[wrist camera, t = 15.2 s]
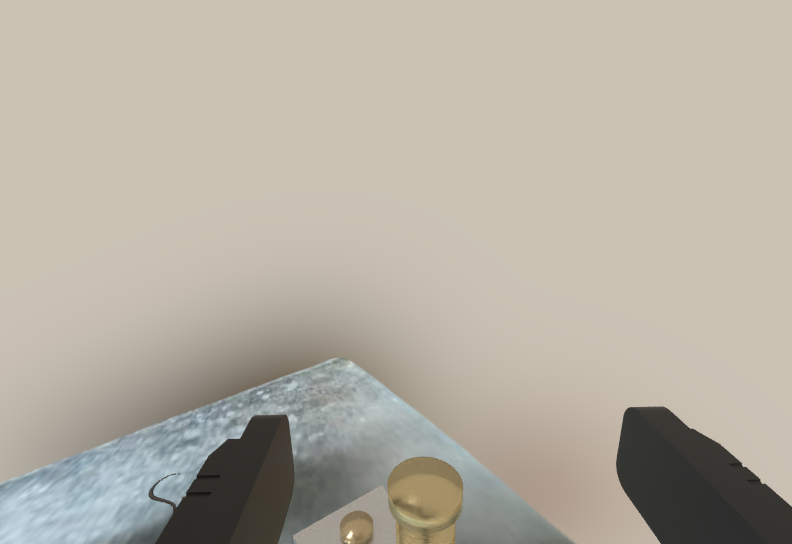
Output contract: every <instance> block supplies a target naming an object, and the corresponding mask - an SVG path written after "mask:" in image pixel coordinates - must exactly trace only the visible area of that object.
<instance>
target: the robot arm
mask: <svg viewBox="0 0 792 544" xmlns="http://www.w3.org/2000/svg"><path fill="white" fill-rule="evenodd" d="M616 467H617V474H618V477H619V481H620V483H621V486H622V488H623V489H624V491H625V493H626V494H627V496H628V497H629V498H630V500H631V501H632V503H633V504H634V506H635V507H636V508H637V510H638V511H639V513H640V514H641V516H642V517H643V518H644V520H645V521H646V523H647V524H648V526H649V527H650V528H651V530H652V531H653V533H654V534H655V536H656V537H657V539H658V540H659V541H660V543H661V544H792V507H791V506H790V505H789V504H788V503H787V502H786V501H784V500H783V499H782V498H781V497H780V496H779V495H778V494H776V493H775V492H774V491H773V490H772V489H771V488H769V487H768V486H767V485H766V484H762V483H761V482H760V479H759V478H758V477H757V476H756V475H755V474H754V473H752V472H751V471H750V470H749V469H747V467H743V466H742V463H741V462H740V461H739V460H737V459H736V458H735V457H734V456H733V455H731V453H729V452H728V451H727V450H726V449H725V448H724V447H722V446H721V445H720V444H719V443H717V442H715V441H713V440H712V439H710V438H708V437H706V436H704V435H703V434H701V433H699V432H697V431H696V430H694V429H690V428H689V427H687V426H686V425H685V424H684V423H683V422H682V421H681V420H680V419H679V418H678V417H677V416H675V415H674V414H673V413H672V412H671V411H670V410H668V409H667V408H665V407H630V408H628V409H627V410H626V411H625V413H624V417H623V423H622V429H621V436H620V442H619V448H618V454H617V461H616ZM293 485H294V464H293V455H292V446H291V437H290V428H289V420H288V417H287V415H256V416H253V417H252V418H251V420H250V421H249V423H248V425H247V427H246V429H245V431H244V433H243V434H242V436H241V438H240V439H228V440H226V441H225V442H224V443H223V444H222V445H221V446H220V447H218V448H217V449H216V450H215V451H214V452H213V453H212V454H210V455H209V456H208V458H207V460H206V461H205V463H204V465H203V466H202V468H201V469H200V471H199V473H198V474H197V478H196V480H194V481H193V483H192V484H191V486H190V487H189V489H188V491H187V492H186V497H183V499H182V501H181V502H180V504H179V505H178V507H177V509H176V510H175V512H174V514H173V515H172V517H171V519H170V520H169V522H168V523H167V525H166V527H165V528H164V530H163V532H162V533H161V535H160V537H159V538H158V540H157V541H156V543H155V544H278V541H279V538H280V535H281V531H282V528H283V524H284V521H285V518H286V514H287V511H288V507H289V504H290V501H291V497H292V492H293Z"/></svg>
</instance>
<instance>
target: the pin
mask: <svg viewBox="0 0 792 544" xmlns="http://www.w3.org/2000/svg"><path fill="white" fill-rule="evenodd" d="M388 505H389V510H390V512H391V514H392V516H393V517H394V519H395V521H396V544H455V522H456V521H457V520H458V518H459V517H460V514H461V512H462V506H463V483H462V479H461V477H460V475H459V474H458V472H457V471H456V470H455V469H454V468H453V467H452V466H451V465H449V464H448V463H446V462H444V461H442V460H439V459H436V458H432V457H415V458H411V459H408V460H406V461H403V462H402V463H400V464H399V465H397V466H396V467H395V468H394V469H393V471H392V472H391V474H390V476H389V479H388Z"/></svg>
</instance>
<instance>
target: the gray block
mask: <svg viewBox="0 0 792 544" xmlns="http://www.w3.org/2000/svg"><path fill="white" fill-rule="evenodd" d="M293 540H294V544H396V521H395V519H394V517H393V516H392V514H391V512H390V510H389V505H388V491H387V490H386V489H385V488H384V487H383V486H382V485H380V486H379V487H377V488H375V489H373V490H372V491H370V492H368V493H366V494H365V495H363V496H361V497H359V498H358V499H356V500H354V501H352V502H351V503H349V504H347V505H345V506H344V507H342V508H340V509H338V510H336V511H335V512H333V513H331V514H329V515H328V516H326V517H324V518H322V519H321V520H319V521H317V522H315V523H314V524H312V525H310V526H308V527H307V528H305V529H303V530H301V531H300V532H298V533H296V534H294V535H293Z"/></svg>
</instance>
